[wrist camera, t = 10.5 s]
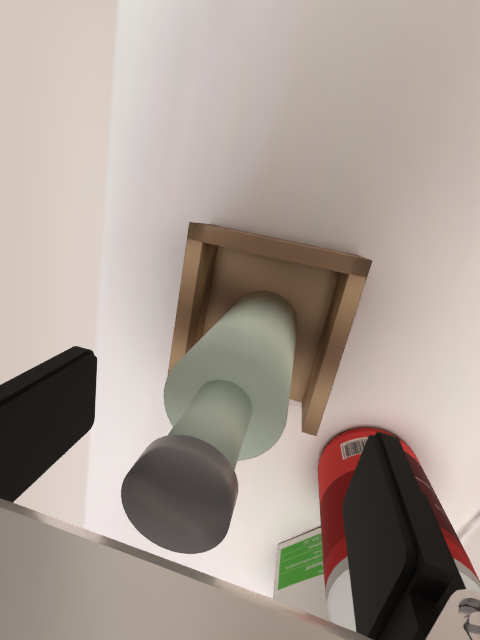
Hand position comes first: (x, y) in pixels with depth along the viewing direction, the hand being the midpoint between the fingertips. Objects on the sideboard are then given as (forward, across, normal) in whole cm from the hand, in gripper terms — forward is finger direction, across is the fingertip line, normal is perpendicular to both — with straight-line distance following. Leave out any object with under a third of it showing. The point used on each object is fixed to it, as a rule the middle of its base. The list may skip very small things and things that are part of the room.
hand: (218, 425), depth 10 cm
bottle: (+14, 0, +1) cm, 14 cm away
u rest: (+15, 0, +1) cm, 15 cm away
